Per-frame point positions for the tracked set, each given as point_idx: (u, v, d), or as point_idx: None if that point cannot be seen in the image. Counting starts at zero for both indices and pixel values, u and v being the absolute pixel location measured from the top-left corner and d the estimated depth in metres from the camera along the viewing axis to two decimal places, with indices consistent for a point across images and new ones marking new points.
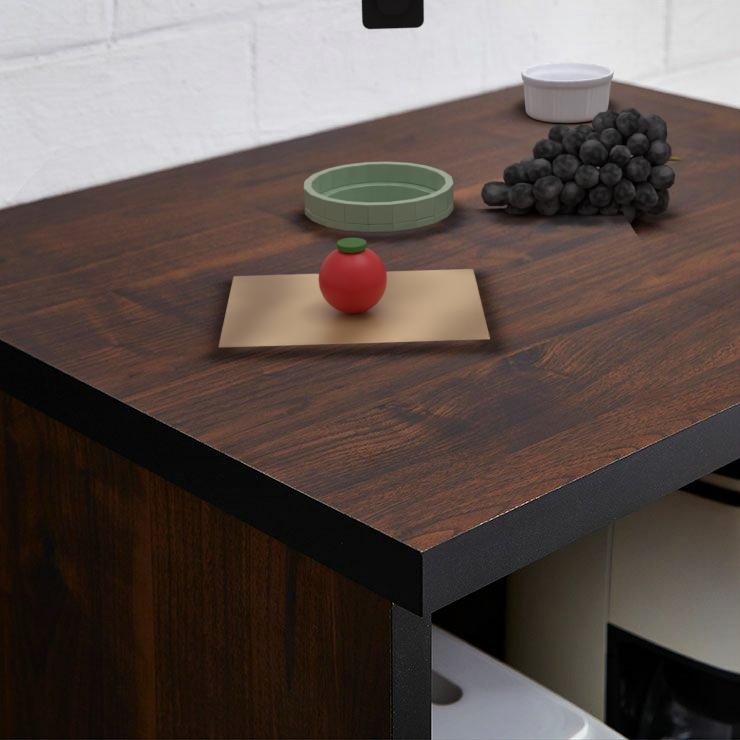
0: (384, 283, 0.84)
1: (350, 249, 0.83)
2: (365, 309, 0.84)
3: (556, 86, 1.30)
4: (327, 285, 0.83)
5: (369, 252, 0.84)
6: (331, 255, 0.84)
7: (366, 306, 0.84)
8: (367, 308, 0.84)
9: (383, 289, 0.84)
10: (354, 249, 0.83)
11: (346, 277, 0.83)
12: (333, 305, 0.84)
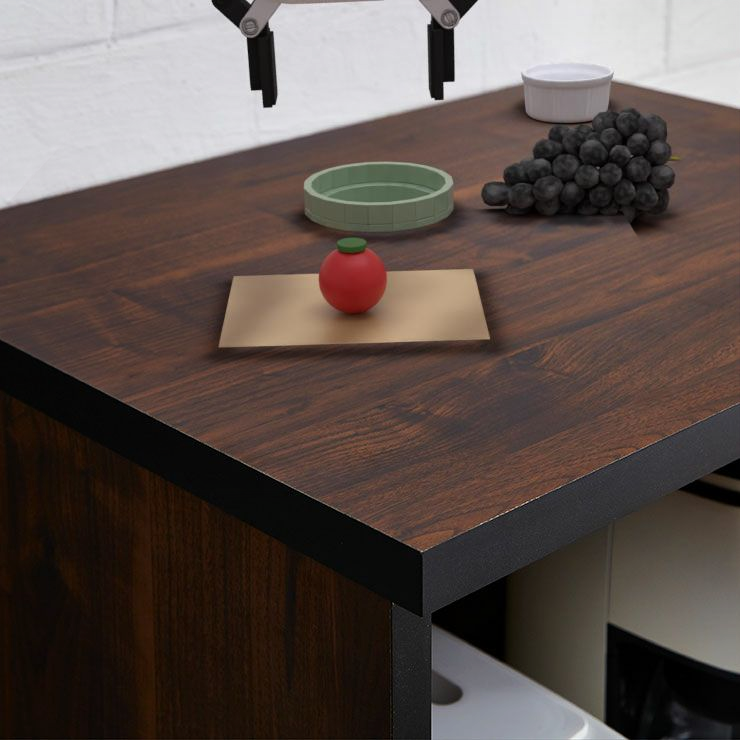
0: (384, 283, 0.84)
1: (350, 249, 0.83)
2: (365, 309, 0.84)
3: (556, 86, 1.30)
4: (327, 285, 0.83)
5: (369, 252, 0.84)
6: (331, 255, 0.84)
7: (366, 306, 0.84)
8: (367, 308, 0.84)
9: (383, 289, 0.84)
10: (354, 249, 0.83)
11: (346, 277, 0.83)
12: (333, 305, 0.84)
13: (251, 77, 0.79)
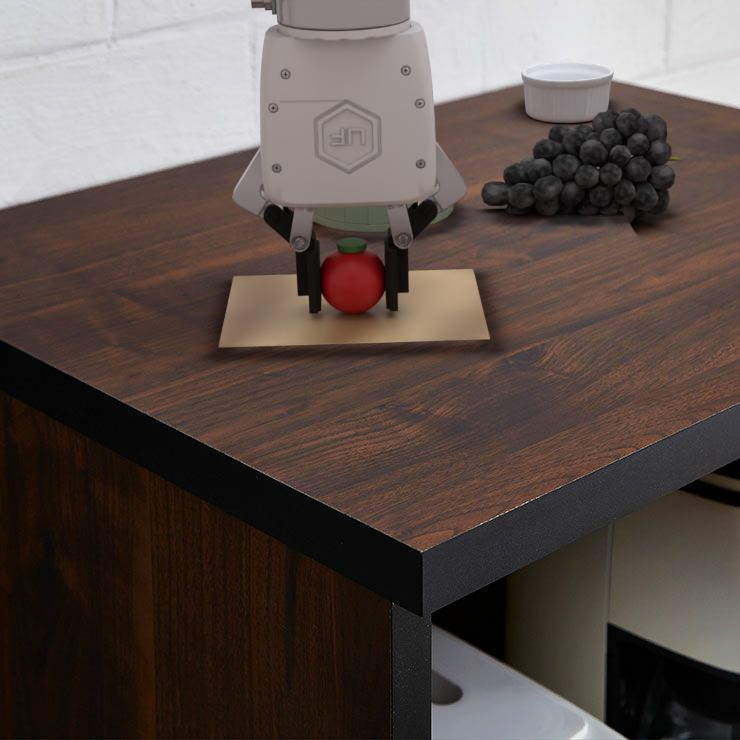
0: (384, 283, 0.84)
1: (350, 249, 0.83)
2: (365, 309, 0.84)
3: (556, 86, 1.30)
4: (327, 285, 0.83)
5: (369, 252, 0.84)
6: (331, 255, 0.84)
7: (366, 306, 0.84)
8: (367, 308, 0.84)
9: (383, 289, 0.84)
10: (354, 249, 0.83)
11: (346, 278, 0.83)
12: (333, 305, 0.84)
13: (298, 285, 0.84)
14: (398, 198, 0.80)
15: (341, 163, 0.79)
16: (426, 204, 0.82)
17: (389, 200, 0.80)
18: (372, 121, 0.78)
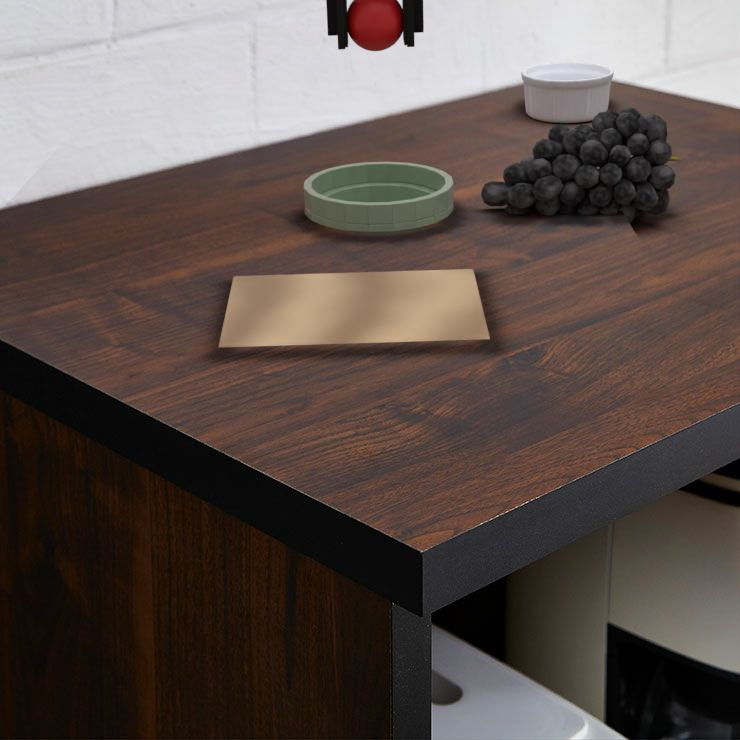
0: (402, 22, 0.98)
1: None
2: (386, 45, 0.98)
3: (556, 86, 1.30)
4: (354, 22, 0.97)
5: None
6: None
7: (387, 42, 0.98)
8: (388, 44, 0.98)
9: (401, 27, 0.98)
10: None
11: (370, 14, 0.96)
12: (358, 41, 0.98)
13: (328, 24, 0.98)
14: None
15: None
16: None
17: None
18: None
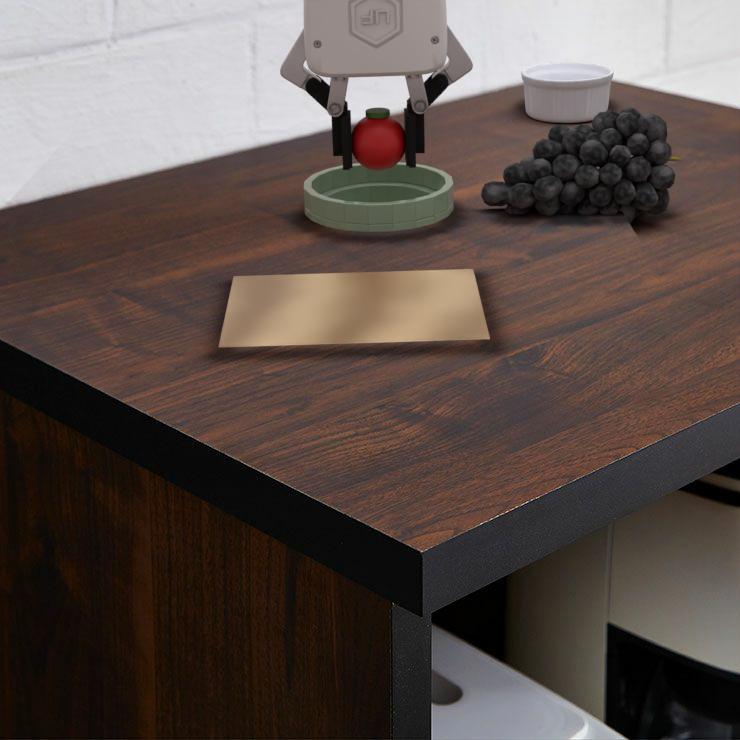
0: (404, 144, 1.02)
1: (376, 115, 1.01)
2: (389, 166, 1.02)
3: (556, 86, 1.30)
4: (358, 145, 1.01)
5: (392, 119, 1.02)
6: (361, 121, 1.02)
7: (390, 163, 1.02)
8: (390, 165, 1.02)
9: (403, 149, 1.02)
10: (380, 115, 1.01)
11: (373, 138, 1.01)
12: (362, 162, 1.02)
13: (334, 146, 1.02)
14: (416, 69, 0.98)
15: (370, 39, 0.97)
16: (439, 76, 1.00)
17: (409, 70, 0.98)
18: (395, 4, 0.96)
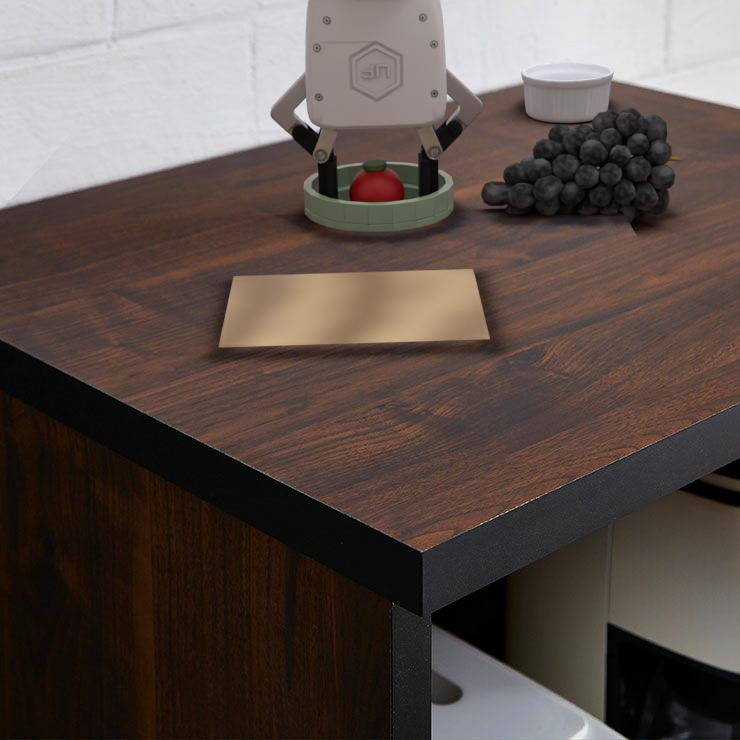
0: (402, 195, 1.04)
1: (373, 168, 1.03)
2: None
3: (556, 86, 1.30)
4: (356, 198, 1.03)
5: (389, 170, 1.03)
6: (358, 174, 1.03)
7: None
8: None
9: None
10: (377, 168, 1.03)
11: (371, 191, 1.02)
12: None
13: (320, 191, 1.03)
14: (416, 121, 0.99)
15: (370, 93, 0.98)
16: (453, 123, 1.01)
17: (409, 123, 0.99)
18: (395, 58, 0.97)
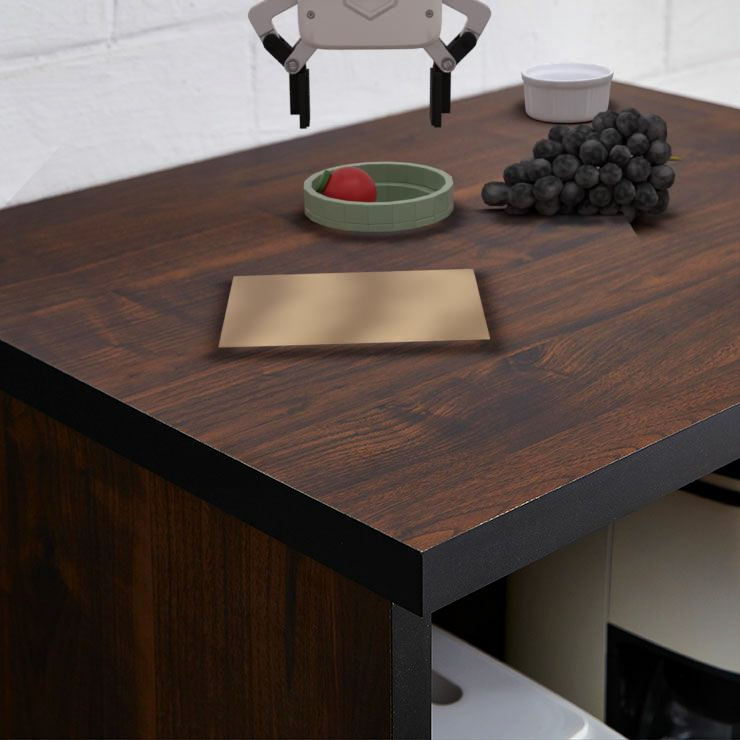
0: (361, 176, 1.03)
1: (322, 185, 1.03)
2: (371, 200, 1.03)
3: (556, 86, 1.30)
4: None
5: (334, 172, 1.03)
6: None
7: (368, 198, 1.03)
8: (371, 198, 1.03)
9: (365, 179, 1.03)
10: (323, 182, 1.03)
11: None
12: None
13: (291, 104, 1.01)
14: (410, 43, 0.97)
15: (364, 11, 0.96)
16: (467, 35, 0.99)
17: (402, 44, 0.97)
18: None
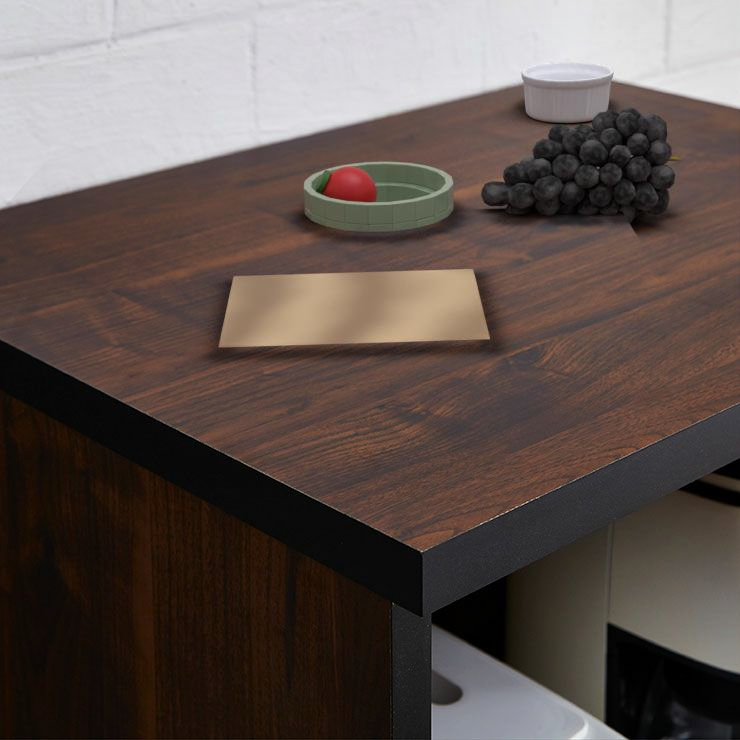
0: (361, 176, 1.03)
1: (322, 185, 1.03)
2: (371, 200, 1.03)
3: (556, 86, 1.30)
4: None
5: (334, 172, 1.03)
6: None
7: (368, 198, 1.03)
8: (371, 198, 1.03)
9: (365, 179, 1.03)
10: (323, 182, 1.03)
11: None
12: None
13: None
14: None
15: None
16: None
17: None
18: None
